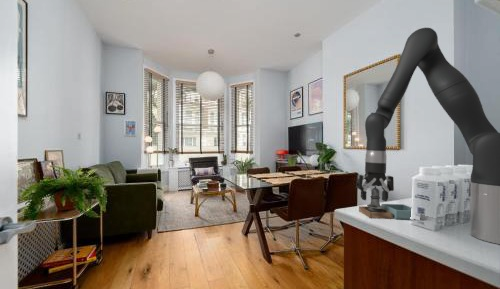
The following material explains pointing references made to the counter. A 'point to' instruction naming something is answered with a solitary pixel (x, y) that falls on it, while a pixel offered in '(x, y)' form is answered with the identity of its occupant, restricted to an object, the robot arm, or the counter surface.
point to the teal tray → (398, 211)
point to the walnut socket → (376, 213)
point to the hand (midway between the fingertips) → (374, 200)
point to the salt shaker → (375, 201)
